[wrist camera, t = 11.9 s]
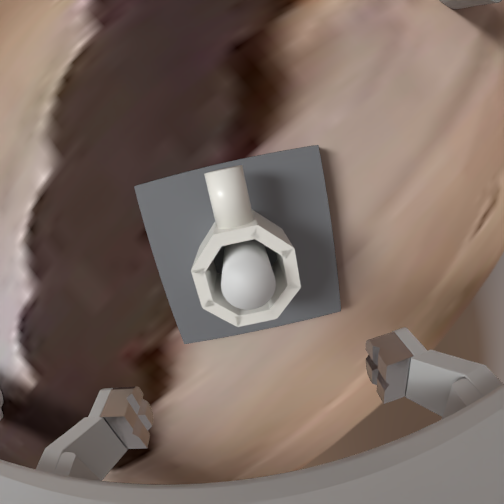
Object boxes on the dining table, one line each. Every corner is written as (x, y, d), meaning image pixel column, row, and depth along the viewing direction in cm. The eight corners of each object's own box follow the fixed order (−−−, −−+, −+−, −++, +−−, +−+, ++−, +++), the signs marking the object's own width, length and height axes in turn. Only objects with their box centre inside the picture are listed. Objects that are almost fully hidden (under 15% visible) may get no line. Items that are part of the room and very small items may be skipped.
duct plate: (186, 334, 27) (174, 389, 20) (140, 184, 23) (102, 198, 16) (336, 303, 27) (365, 350, 20) (313, 145, 23) (346, 142, 16)
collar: (291, 282, 25) (304, 312, 20) (213, 298, 25) (209, 332, 20) (268, 158, 22) (277, 159, 17) (181, 177, 22) (167, 184, 17)
